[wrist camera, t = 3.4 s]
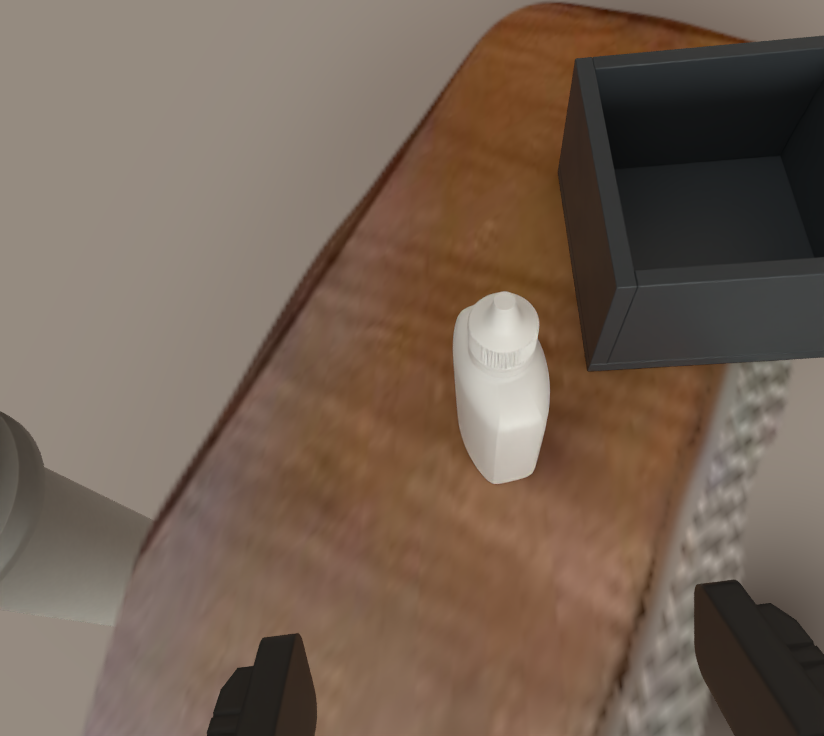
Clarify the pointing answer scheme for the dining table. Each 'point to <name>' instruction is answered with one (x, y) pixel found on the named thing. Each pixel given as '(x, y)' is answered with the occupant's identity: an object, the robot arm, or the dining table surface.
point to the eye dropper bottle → (501, 386)
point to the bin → (697, 204)
